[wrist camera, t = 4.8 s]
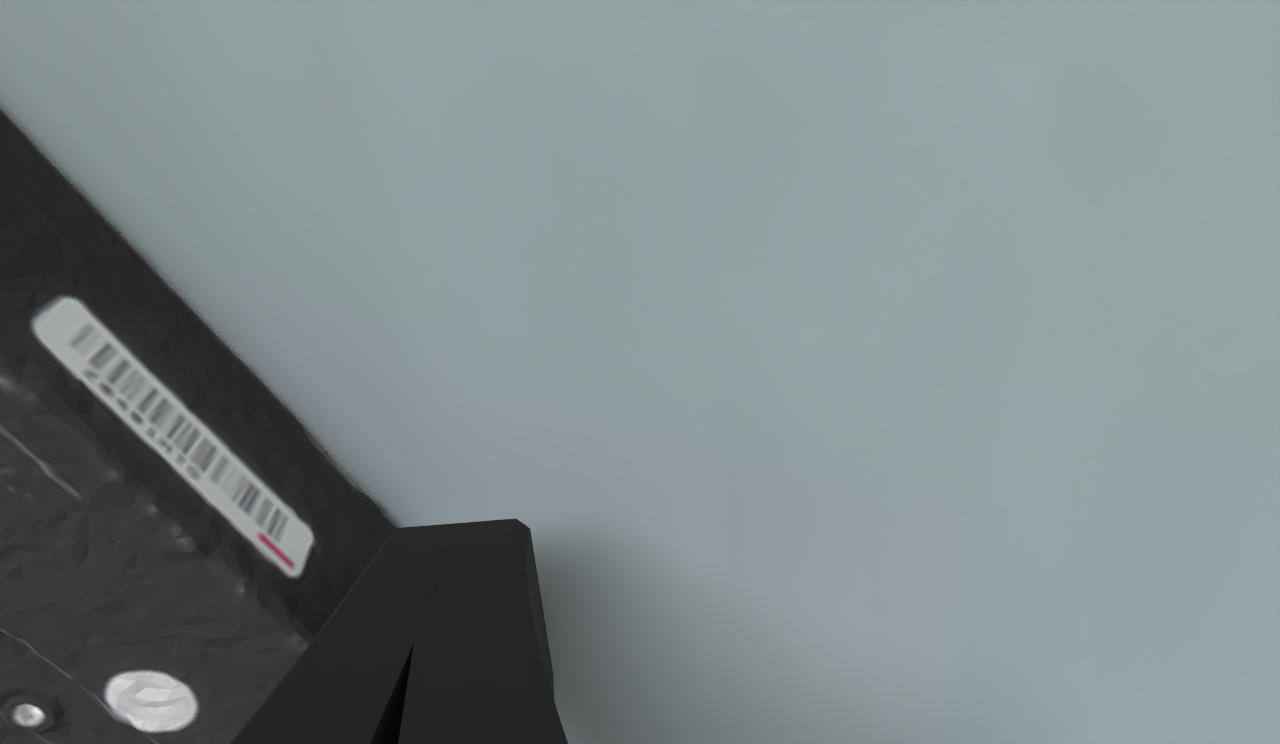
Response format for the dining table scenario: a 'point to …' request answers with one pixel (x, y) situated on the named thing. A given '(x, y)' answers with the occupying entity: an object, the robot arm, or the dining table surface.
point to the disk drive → (145, 495)
